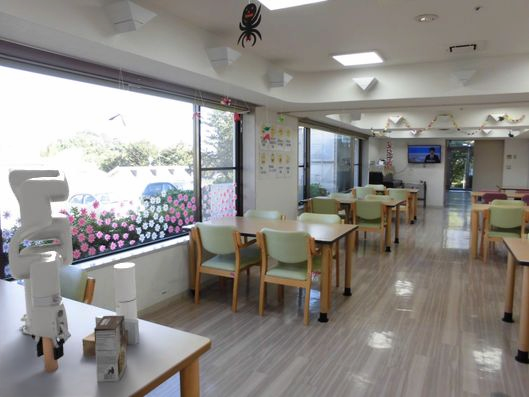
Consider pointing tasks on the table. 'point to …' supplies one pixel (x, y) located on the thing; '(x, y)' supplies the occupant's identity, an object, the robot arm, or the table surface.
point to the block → (90, 343)
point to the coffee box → (110, 348)
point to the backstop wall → (130, 326)
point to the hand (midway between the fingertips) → (50, 355)
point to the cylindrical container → (125, 290)
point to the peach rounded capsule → (49, 355)
